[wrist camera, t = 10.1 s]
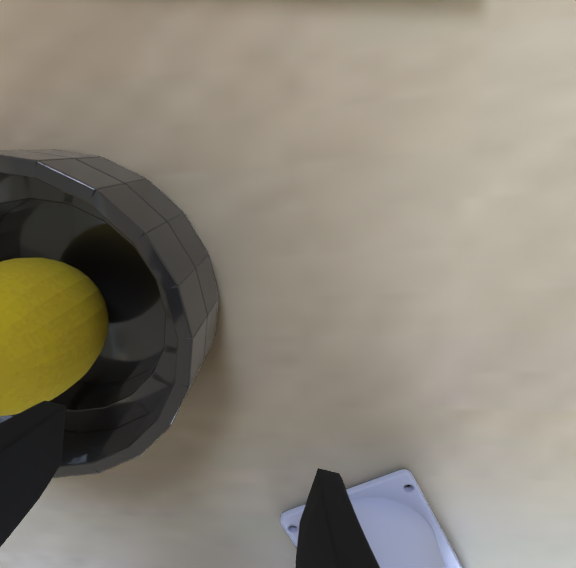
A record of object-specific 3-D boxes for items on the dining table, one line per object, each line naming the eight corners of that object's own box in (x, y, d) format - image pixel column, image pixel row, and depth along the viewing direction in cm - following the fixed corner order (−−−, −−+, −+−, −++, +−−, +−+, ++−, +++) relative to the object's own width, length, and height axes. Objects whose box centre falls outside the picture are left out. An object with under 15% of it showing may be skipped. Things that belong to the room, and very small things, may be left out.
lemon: (122, 233, 19) (-8, 293, 11) (147, 343, 21) (50, 459, 13) (8, 244, 19) (-189, 308, 12) (42, 351, 21) (-110, 467, 14)
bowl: (268, 347, 21) (255, 407, 16) (64, 440, 23) (0, 515, 19) (117, 92, 17) (44, 73, 13) (-102, 235, 20) (-230, 262, 15)
